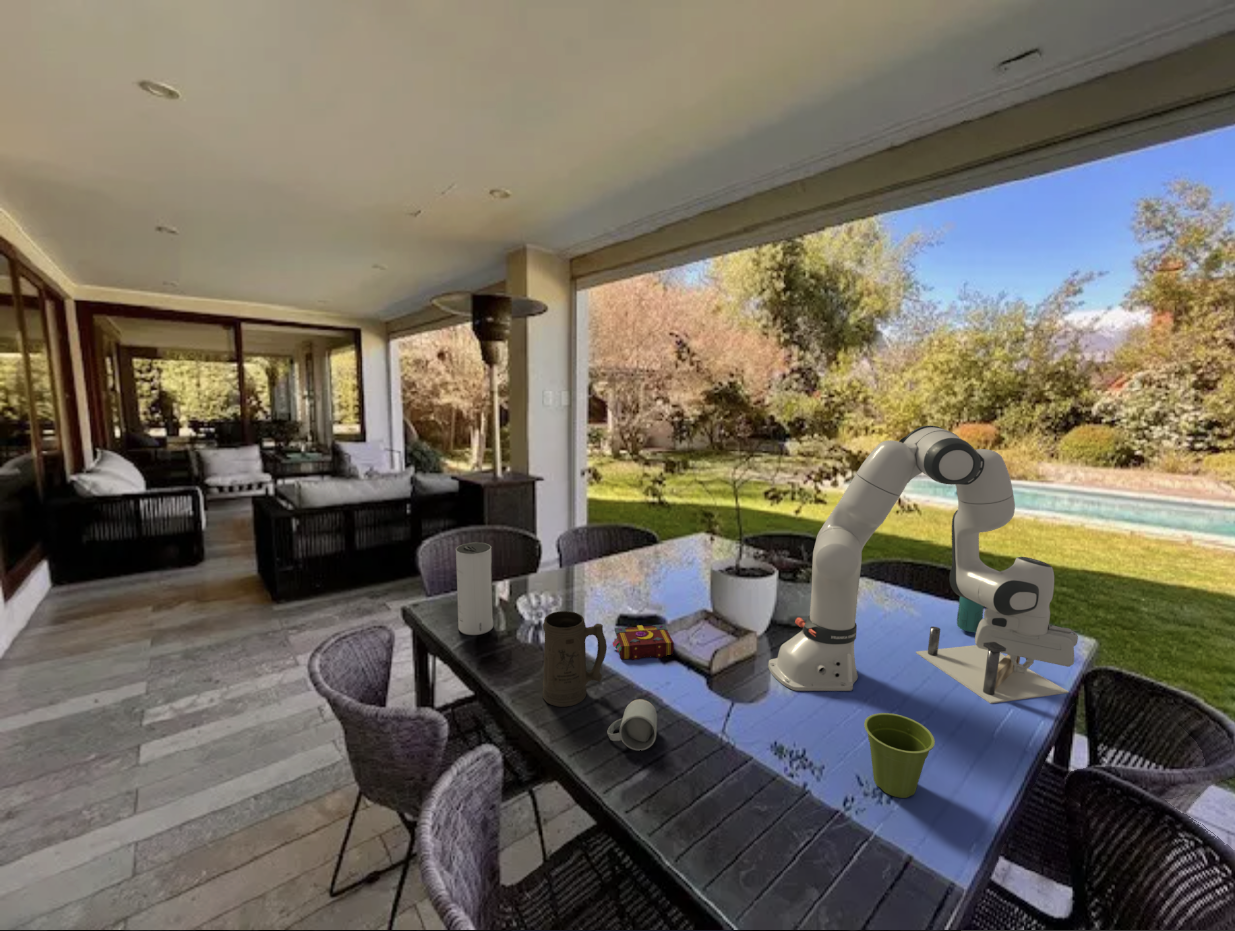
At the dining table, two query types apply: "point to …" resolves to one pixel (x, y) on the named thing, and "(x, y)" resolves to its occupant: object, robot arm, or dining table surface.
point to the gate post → (992, 666)
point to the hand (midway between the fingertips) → (1019, 671)
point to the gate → (1005, 669)
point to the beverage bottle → (969, 614)
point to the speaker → (474, 588)
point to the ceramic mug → (636, 725)
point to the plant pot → (897, 752)
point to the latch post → (933, 641)
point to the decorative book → (643, 642)
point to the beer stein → (569, 658)
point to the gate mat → (971, 669)
